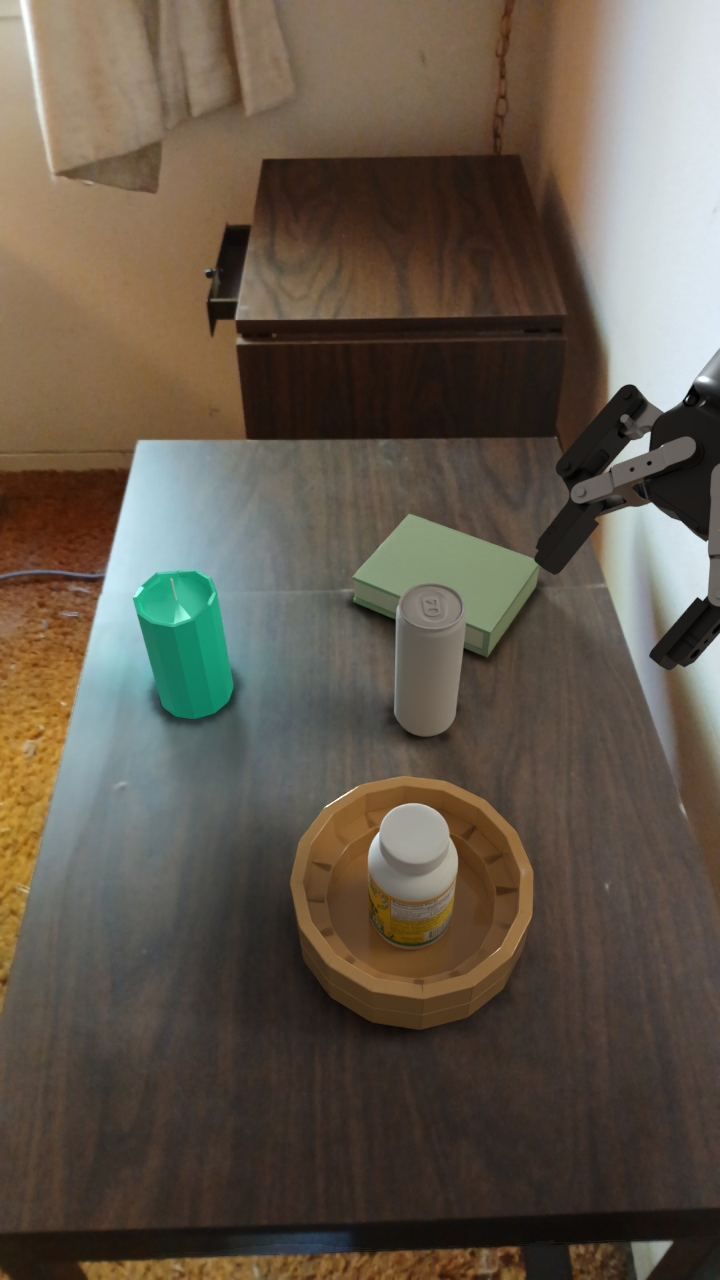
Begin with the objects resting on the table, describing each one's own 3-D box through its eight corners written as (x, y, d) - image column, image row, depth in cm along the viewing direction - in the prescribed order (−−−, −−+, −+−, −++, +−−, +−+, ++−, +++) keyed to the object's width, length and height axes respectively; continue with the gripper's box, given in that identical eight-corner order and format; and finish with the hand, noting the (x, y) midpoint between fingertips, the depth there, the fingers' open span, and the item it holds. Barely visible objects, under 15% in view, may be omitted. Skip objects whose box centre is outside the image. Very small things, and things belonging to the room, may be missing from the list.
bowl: (558, 879, 59) (570, 840, 56) (459, 1079, 51) (465, 1048, 47) (370, 785, 65) (370, 744, 61) (252, 952, 56) (243, 915, 52)
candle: (247, 675, 72) (230, 564, 63) (208, 729, 68) (184, 619, 60) (184, 653, 74) (159, 542, 65) (143, 704, 70) (110, 593, 61)
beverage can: (451, 690, 71) (462, 579, 62) (460, 738, 67) (472, 628, 59) (391, 694, 71) (393, 583, 62) (396, 742, 67) (399, 632, 59)
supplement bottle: (450, 955, 55) (461, 879, 48) (364, 948, 56) (363, 872, 49) (451, 877, 59) (462, 796, 52) (371, 871, 59) (371, 790, 52)
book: (536, 586, 79) (540, 561, 77) (487, 657, 73) (490, 632, 71) (408, 538, 84) (409, 513, 82) (352, 602, 78) (352, 576, 76)
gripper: (680, 256, 44) (478, 521, 48) (950, 383, 36) (679, 689, 40) (721, 327, 50) (539, 558, 54) (961, 450, 42) (725, 711, 46)
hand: (599, 613), depth 47 cm, fingers open, 8 cm apart
